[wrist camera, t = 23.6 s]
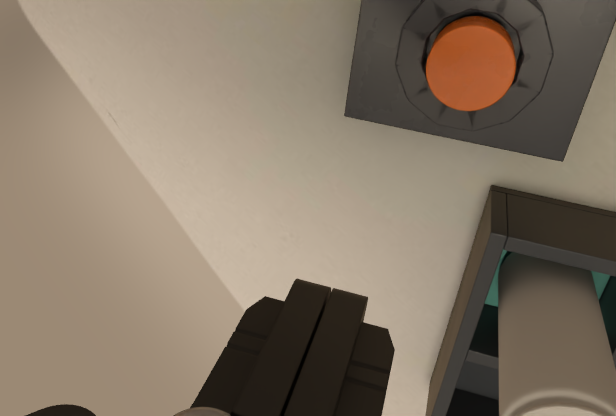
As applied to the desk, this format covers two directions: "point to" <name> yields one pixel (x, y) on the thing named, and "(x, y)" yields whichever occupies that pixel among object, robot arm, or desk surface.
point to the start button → (471, 63)
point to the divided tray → (484, 289)
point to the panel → (523, 91)
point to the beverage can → (552, 341)
